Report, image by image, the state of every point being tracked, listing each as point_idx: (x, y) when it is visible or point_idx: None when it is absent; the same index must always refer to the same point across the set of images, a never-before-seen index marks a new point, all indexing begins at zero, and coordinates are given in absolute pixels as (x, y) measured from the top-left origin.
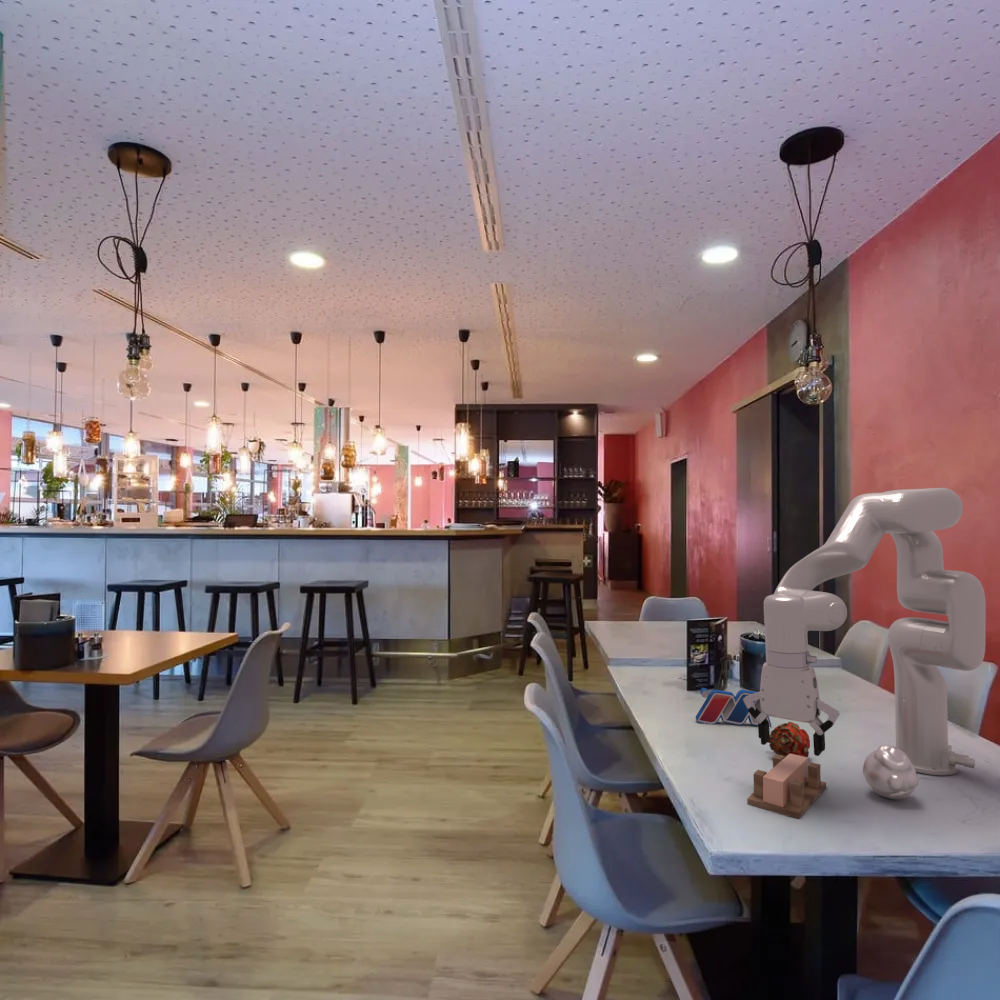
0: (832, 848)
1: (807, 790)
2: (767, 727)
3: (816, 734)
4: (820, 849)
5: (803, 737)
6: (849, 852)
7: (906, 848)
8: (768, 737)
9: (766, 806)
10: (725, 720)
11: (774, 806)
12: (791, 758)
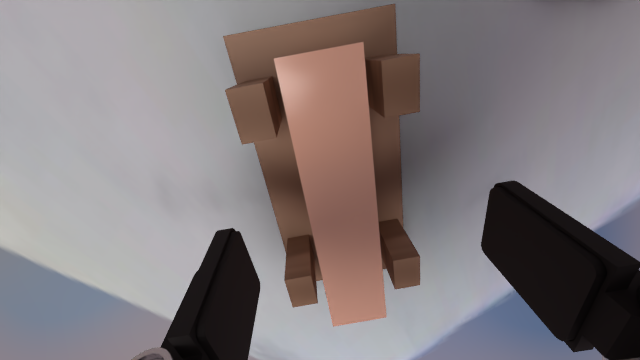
0: (474, 300)
1: (373, 134)
2: (227, 322)
3: (590, 344)
4: (459, 314)
5: None
6: (499, 292)
7: (589, 215)
8: (240, 259)
9: None
10: None
11: None
12: (314, 122)
